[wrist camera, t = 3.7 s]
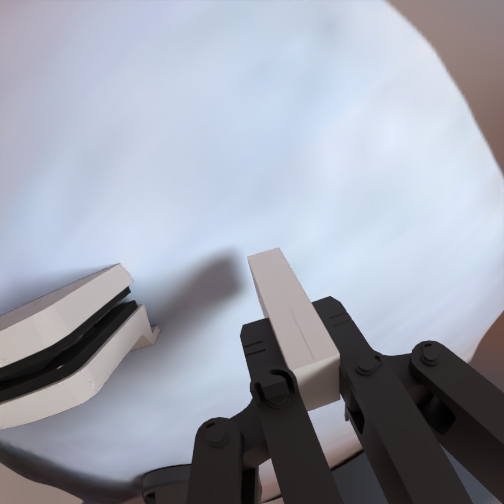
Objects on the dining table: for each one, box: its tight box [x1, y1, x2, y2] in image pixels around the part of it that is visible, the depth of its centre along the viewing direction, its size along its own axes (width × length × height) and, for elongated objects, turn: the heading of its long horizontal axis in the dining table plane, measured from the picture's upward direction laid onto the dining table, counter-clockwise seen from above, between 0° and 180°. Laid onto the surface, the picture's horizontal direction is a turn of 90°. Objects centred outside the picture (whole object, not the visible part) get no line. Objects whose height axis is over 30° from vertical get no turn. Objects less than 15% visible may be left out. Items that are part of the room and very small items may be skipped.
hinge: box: [0, 263, 160, 429], centre depth 12 cm, size 17×5×10 cm, turn 107°
